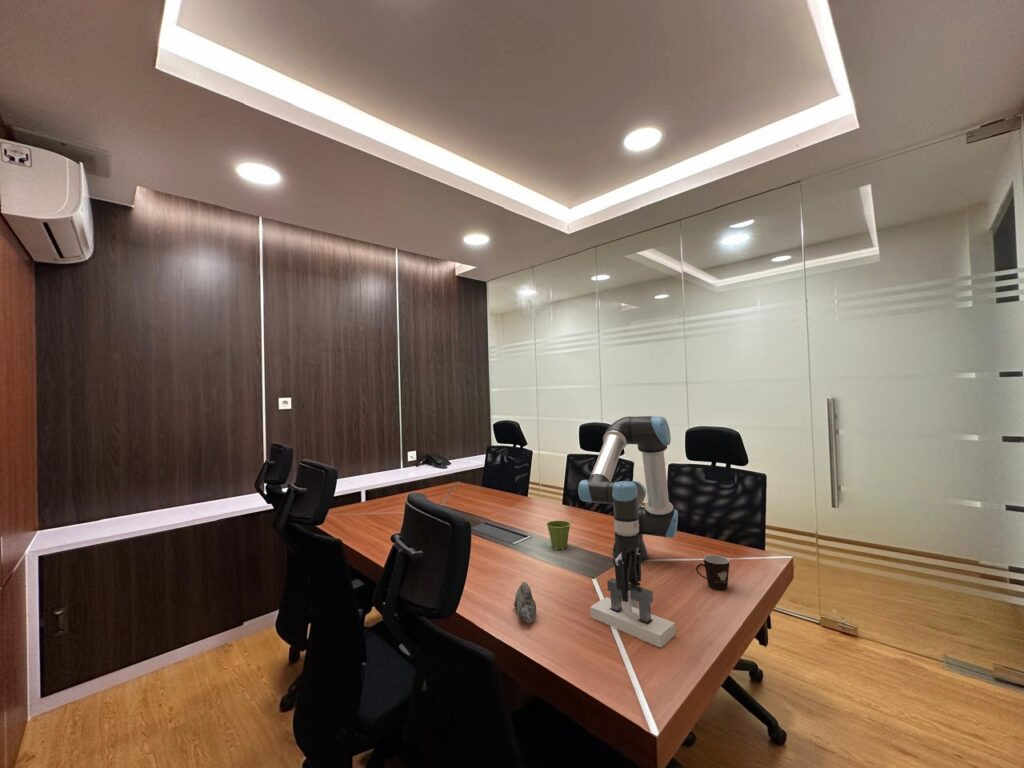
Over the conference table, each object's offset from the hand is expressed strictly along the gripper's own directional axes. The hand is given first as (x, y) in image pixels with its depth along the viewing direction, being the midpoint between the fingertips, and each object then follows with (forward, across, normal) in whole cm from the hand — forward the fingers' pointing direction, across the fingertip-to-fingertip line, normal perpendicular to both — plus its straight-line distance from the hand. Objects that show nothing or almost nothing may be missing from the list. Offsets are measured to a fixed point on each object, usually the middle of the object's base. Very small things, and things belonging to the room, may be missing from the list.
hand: (630, 608), depth 128 cm
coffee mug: (+5, +44, -8) cm, 45 cm away
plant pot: (+5, +38, +61) cm, 72 cm away
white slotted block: (+5, 0, 0) cm, 5 cm away
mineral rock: (+6, -18, +29) cm, 35 cm away
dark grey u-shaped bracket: (+3, 0, 0) cm, 3 cm away
